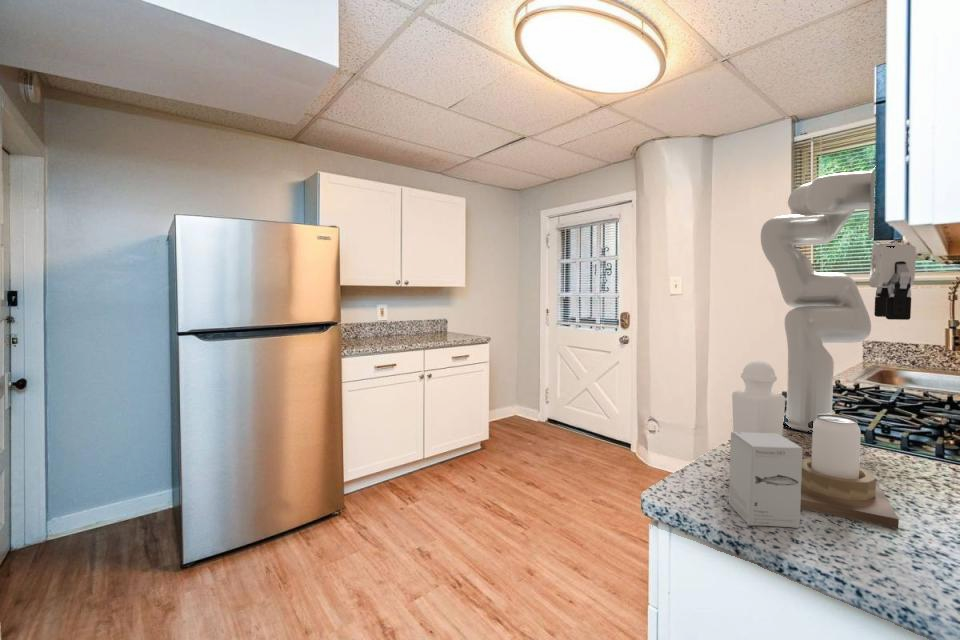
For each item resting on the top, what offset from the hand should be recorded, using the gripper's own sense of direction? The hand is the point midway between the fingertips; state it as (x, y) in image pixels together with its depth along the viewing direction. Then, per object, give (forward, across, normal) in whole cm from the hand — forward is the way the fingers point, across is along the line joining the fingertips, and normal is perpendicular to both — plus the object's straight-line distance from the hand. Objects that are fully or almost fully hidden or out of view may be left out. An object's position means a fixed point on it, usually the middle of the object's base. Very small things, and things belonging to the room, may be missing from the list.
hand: (891, 317), depth 83 cm
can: (+29, +17, -10) cm, 35 cm away
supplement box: (+31, +32, -20) cm, 49 cm away
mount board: (+30, +17, -10) cm, 36 cm away
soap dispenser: (+31, +11, -21) cm, 39 cm away
